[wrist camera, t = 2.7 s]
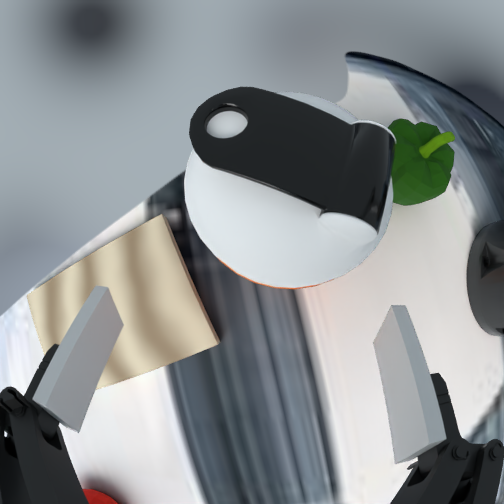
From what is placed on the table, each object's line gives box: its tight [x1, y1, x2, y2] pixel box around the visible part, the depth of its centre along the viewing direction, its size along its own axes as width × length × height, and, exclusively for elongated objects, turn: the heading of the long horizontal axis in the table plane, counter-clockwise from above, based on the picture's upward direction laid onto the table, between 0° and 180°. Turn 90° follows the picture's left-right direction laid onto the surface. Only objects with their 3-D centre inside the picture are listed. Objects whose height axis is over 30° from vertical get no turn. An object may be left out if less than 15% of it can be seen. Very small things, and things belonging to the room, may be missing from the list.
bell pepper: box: [388, 119, 455, 206], centre depth 24 cm, size 8×8×10 cm
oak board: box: [27, 214, 220, 390], centre depth 27 cm, size 22×14×2 cm, turn 115°
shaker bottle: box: [184, 87, 396, 289], centre depth 18 cm, size 9×9×20 cm
